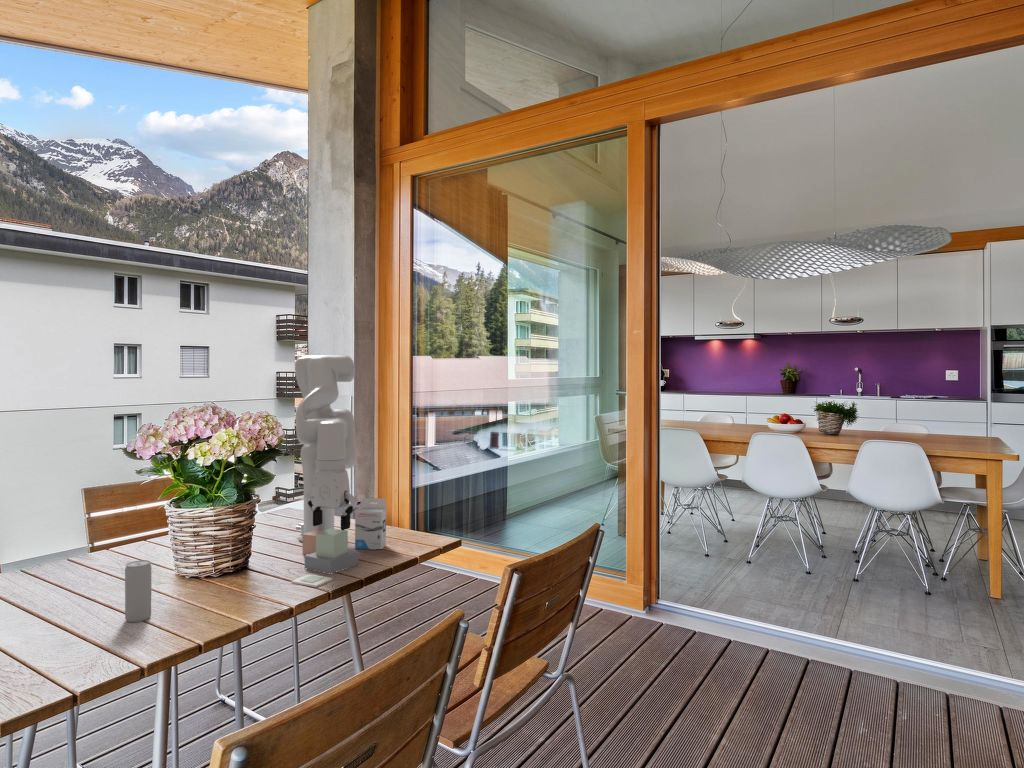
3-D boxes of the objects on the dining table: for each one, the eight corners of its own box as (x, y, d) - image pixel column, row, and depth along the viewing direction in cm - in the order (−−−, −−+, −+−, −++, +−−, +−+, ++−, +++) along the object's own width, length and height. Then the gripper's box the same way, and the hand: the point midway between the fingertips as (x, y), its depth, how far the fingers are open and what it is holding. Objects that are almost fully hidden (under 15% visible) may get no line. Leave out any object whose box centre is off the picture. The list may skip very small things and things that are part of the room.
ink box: (354, 549, 183) (354, 500, 183) (359, 545, 188) (359, 497, 188) (381, 550, 182) (381, 501, 182) (386, 545, 187) (386, 498, 187)
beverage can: (146, 613, 133) (146, 558, 133) (155, 618, 130) (155, 562, 130) (121, 619, 129) (121, 563, 129) (130, 625, 126) (129, 568, 126)
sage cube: (315, 555, 164) (315, 533, 164) (330, 549, 170) (330, 528, 170) (334, 558, 162) (334, 535, 162) (347, 552, 168) (347, 530, 168)
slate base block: (304, 570, 164) (304, 555, 164) (332, 560, 173) (332, 546, 173) (330, 576, 159) (330, 561, 159) (358, 566, 168) (358, 551, 168)
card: (291, 583, 152) (291, 580, 152) (308, 576, 158) (308, 573, 158) (316, 587, 149) (316, 584, 149) (332, 580, 155) (332, 577, 155)
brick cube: (302, 554, 178) (302, 534, 178) (316, 549, 184) (316, 529, 184) (318, 556, 176) (318, 536, 176) (332, 551, 181) (332, 531, 181)
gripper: (297, 465, 166) (297, 526, 167) (347, 469, 159) (347, 534, 160) (316, 461, 173) (316, 520, 174) (365, 465, 166) (365, 527, 167)
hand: (331, 527), depth 167 cm, fingers open, 9 cm apart
